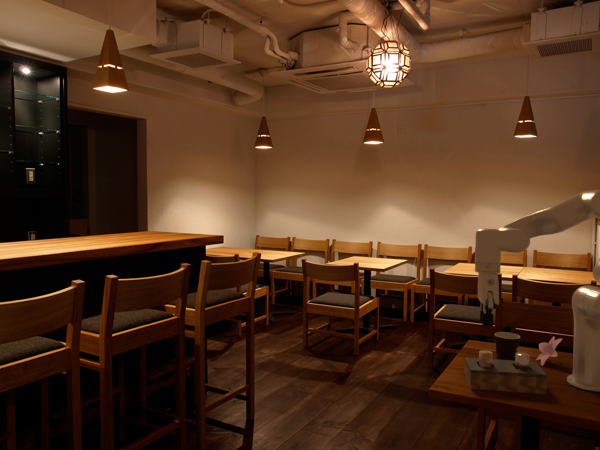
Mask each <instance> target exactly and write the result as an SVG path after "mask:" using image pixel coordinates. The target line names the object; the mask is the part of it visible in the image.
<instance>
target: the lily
mask: <svg viewBox="0 0 600 450" xmlns="http://www.w3.org/2000/svg"><path fill="white" fill-rule="evenodd" d="M561 341H563V338H557V339H555V336H553V337H551V339H550V340H549V342H541V343H539V344H538V348H539V352H540V353H539V355H538V356H537V357H536V359H535V360H536V361H539V360H540V366H541V365H542V366H544V364H545V363H546V361H547V359H548V358H549V357H550V358H552V357H553V358H554V357H555V358H556V359H557V360H558V362H559V364H562V362H561V360H560V359H559V357H558V352H557V351H556V348H557V346H558V345H559V343H561Z"/></svg>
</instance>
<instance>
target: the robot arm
mask: <svg viewBox="0 0 600 450" xmlns="http://www.w3.org/2000/svg"><path fill="white" fill-rule="evenodd" d="M592 218H593V219H594V218H597V219H599V218H600V189H590V190H583V191H582V192H579V193H577V194H574V195H573V196H570V197H568V198H566V199H564V200H562V201H560V202H558V203H555V204H553V205H552V206H550V207H547V208H545V209H542V210H539V211H536V212H534V213H532V214H528V215H526V216H523V217H520V218H518V219H516V220H514V221H511V222H509V223H507V224H505V225H504V226H501V227H499V229H496V228H479V229H477V230H476V232H475V251H474V252H475V254H474V255H475V256H474V259H475V261H474V262H475V263H474V273H478V274H477V275H478V276H477V298H478V301H479V302H480V311H479V312H480V313H479V323H480V324H482V327H493V326H494V304H495V305H496V306H499V304H500V290H499V289H500V287H499V285H500V283H499V274H501V265H502V264H501V260H502V259H501V257H502V252H507V253H508V252H509V253H514V254H517V253H518V254H519V253H522V252H524V251H526V250H528V248H529V247H530V245H531V239H533V238H537V237H540V236H549V235H555V234H560V233H562V232H565V231H566V230H569V229H571V228H573V227H575V226H577V225H580V224H582V223H584V222H585V221H588V220H590V219H592ZM592 276H593V278H594V280H595V281H596V282H597V283H599V284H600V257H599V258H598V260H597V262H596V263H595V265H594V267H593V270H592ZM571 309H572V314H573V350H572V351H573V353H572V354H573V355H572V373H571V374H569V375H567V376H566V382H568V384H570V385H571V386H573V387H576V388H577V389H582V390H586V391H591V392H598V393H599V392H600V287H599V286H595V285H590V284H589V285H583V286H582V285H581V286H580V287H578V288H577V289H576V290H574V292H573V294H572V297H571Z"/></svg>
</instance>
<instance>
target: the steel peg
mask: <svg viewBox="0 0 600 450" xmlns="http://www.w3.org/2000/svg"><path fill="white" fill-rule="evenodd" d="M529 361H530V354H528V353H527V352H526V353H525V352H519V351H518V353H516V357H515V369H522V370H529Z"/></svg>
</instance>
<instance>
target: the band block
mask: <svg viewBox="0 0 600 450" xmlns="http://www.w3.org/2000/svg"><path fill="white" fill-rule="evenodd" d="M464 377H465V380H466V382H467V385H468V386H469V389H470V390H482V391H494V392H495V391H496V392H510V393H511V392H512V393H525V394H537V395H547V388H548V387H547V386H548V382H547V381H548V374H547V373H546V372H545V371H544V369H543V368H542V367H540V365H538V363H537V362H536V361H531V360H529V370H522V369H515V361H514V360H497V358H494V359H493V358H492V368H491V367H479V357H464Z"/></svg>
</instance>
